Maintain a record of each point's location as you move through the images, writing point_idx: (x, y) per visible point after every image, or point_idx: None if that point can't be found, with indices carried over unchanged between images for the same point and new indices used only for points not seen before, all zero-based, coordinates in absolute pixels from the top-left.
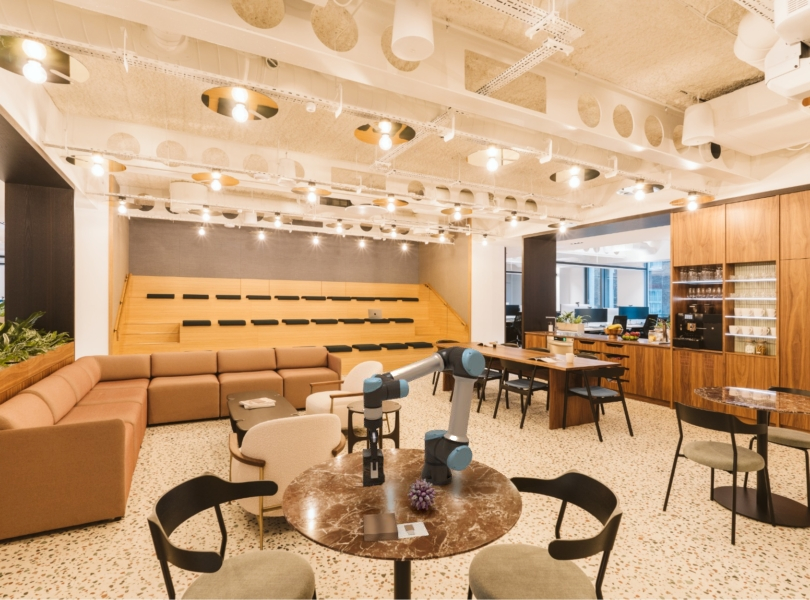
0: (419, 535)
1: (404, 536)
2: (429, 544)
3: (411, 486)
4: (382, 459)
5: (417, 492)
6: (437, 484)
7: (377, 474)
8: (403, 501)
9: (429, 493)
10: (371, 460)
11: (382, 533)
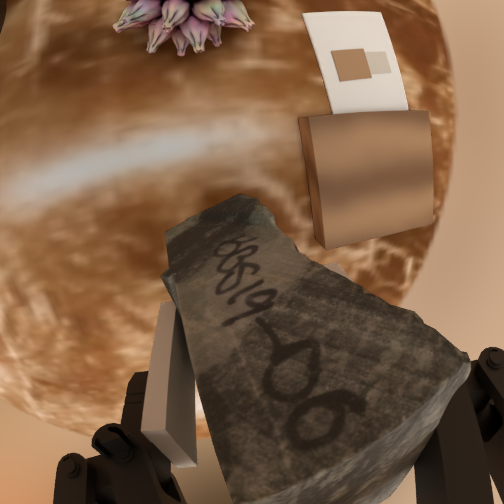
0: (388, 40)
1: (398, 88)
2: (416, 25)
3: (174, 19)
4: (409, 326)
5: None
6: (4, 16)
7: (350, 278)
8: (127, 97)
9: None
10: (487, 404)
11: (432, 165)
